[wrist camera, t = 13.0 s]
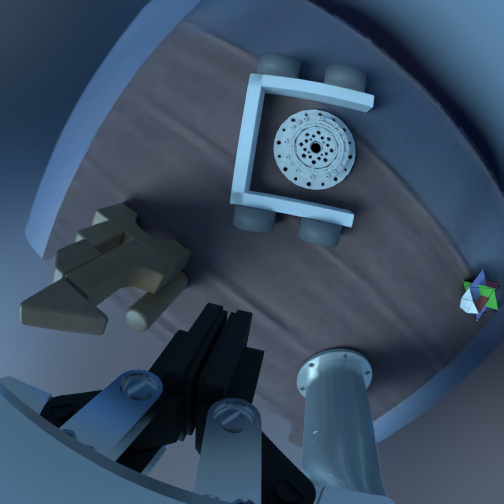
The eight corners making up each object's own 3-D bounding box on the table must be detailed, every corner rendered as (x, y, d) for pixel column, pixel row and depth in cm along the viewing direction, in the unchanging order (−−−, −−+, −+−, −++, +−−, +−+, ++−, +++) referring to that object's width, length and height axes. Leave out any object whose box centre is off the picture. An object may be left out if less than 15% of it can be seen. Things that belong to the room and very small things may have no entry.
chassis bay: (342, 240, 35) (348, 251, 31) (233, 218, 37) (223, 226, 32) (369, 84, 29) (379, 73, 24) (258, 65, 30) (251, 51, 26)
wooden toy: (108, 237, 41) (-16, 300, 18) (122, 202, 39) (-19, 249, 16) (183, 292, 42) (83, 406, 18) (203, 258, 39) (92, 370, 16)
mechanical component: (322, 97, 31) (258, 140, 34) (325, 88, 26) (253, 136, 29) (368, 162, 32) (304, 203, 35) (377, 161, 28) (305, 208, 31)
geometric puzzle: (496, 255, 29) (497, 290, 25) (503, 290, 30) (502, 326, 26) (458, 266, 35) (452, 300, 31) (467, 298, 36) (461, 333, 32)
